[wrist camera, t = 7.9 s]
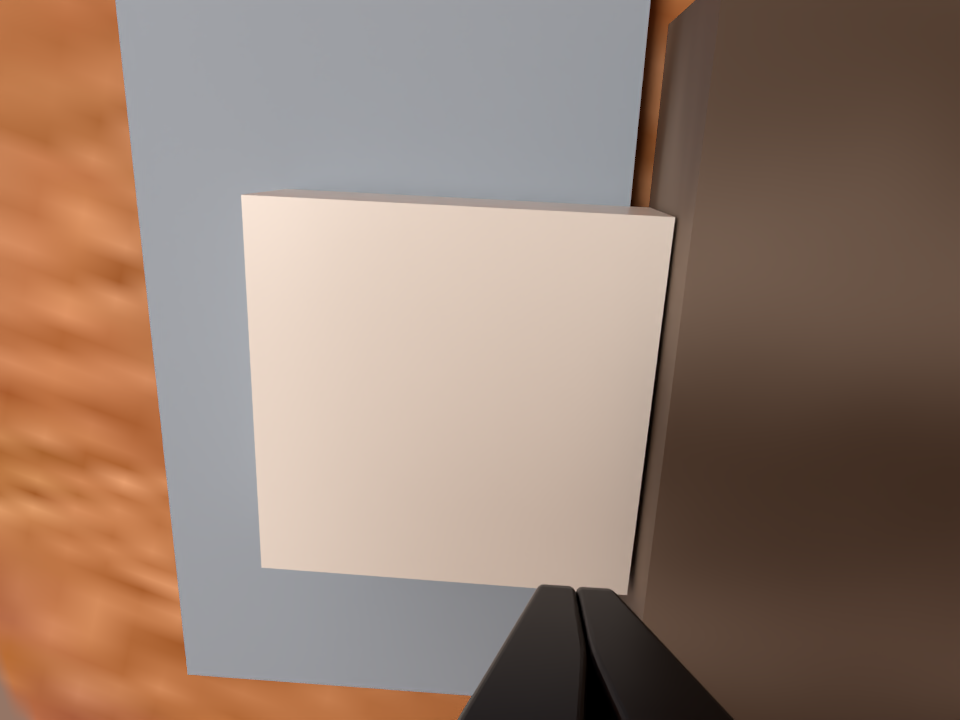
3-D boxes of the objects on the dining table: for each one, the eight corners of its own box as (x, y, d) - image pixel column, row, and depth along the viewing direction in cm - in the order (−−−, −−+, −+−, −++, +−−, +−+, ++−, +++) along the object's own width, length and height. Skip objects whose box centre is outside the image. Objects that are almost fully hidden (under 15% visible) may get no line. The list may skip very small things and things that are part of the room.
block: (612, 533, 17) (626, 595, 15) (297, 510, 17) (261, 567, 15) (649, 207, 15) (674, 216, 12) (285, 188, 15) (241, 194, 13)
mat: (579, 689, 19) (580, 703, 18) (196, 661, 19) (187, 674, 19) (649, -31, 14) (654, -37, 13) (124, -44, 14) (109, -52, 14)
